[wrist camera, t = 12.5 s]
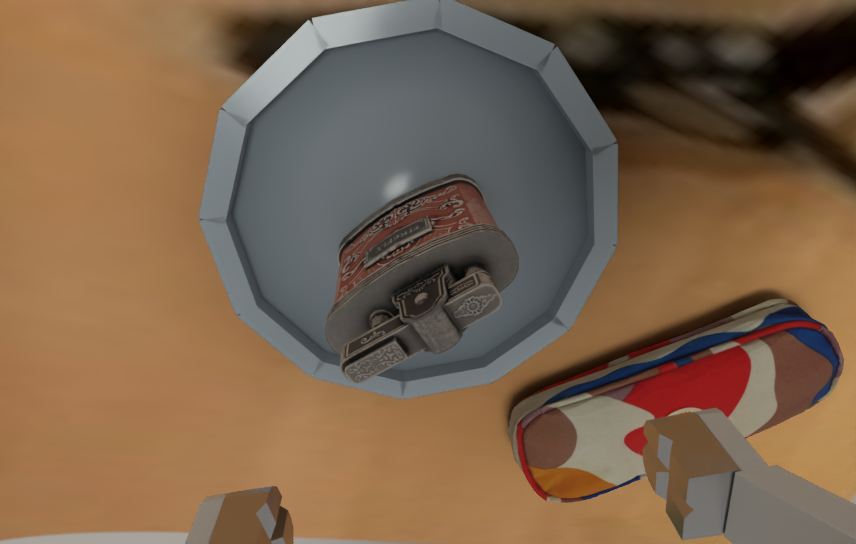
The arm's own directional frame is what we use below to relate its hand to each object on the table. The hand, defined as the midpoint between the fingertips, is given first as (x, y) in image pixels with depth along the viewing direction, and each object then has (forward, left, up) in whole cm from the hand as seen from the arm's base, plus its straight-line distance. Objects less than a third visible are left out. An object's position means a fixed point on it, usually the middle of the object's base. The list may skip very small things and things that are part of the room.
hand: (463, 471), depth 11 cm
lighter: (+1, 0, -16) cm, 16 cm away
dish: (0, 0, -17) cm, 17 cm away
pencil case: (-13, +14, -18) cm, 26 cm away
